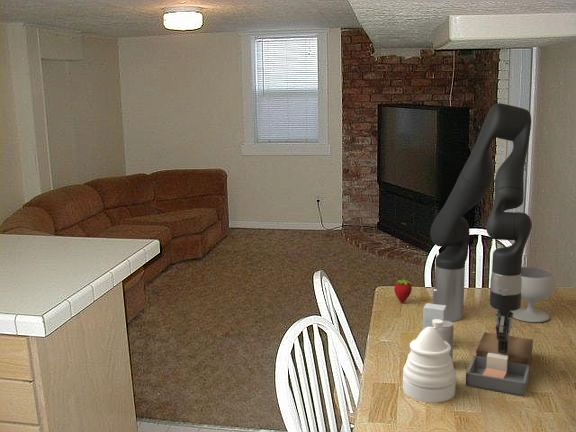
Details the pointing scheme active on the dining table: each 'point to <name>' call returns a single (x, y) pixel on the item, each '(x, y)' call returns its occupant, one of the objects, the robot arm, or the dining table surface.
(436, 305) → the skincare box
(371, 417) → the dining table surface
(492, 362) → the tile back
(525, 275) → the chalice
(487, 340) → the wooden grain block
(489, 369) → the tile front
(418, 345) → the honey pot
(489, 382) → the box
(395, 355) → the dining table surface
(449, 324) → the energy drink
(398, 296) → the strawberry
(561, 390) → the dining table surface
